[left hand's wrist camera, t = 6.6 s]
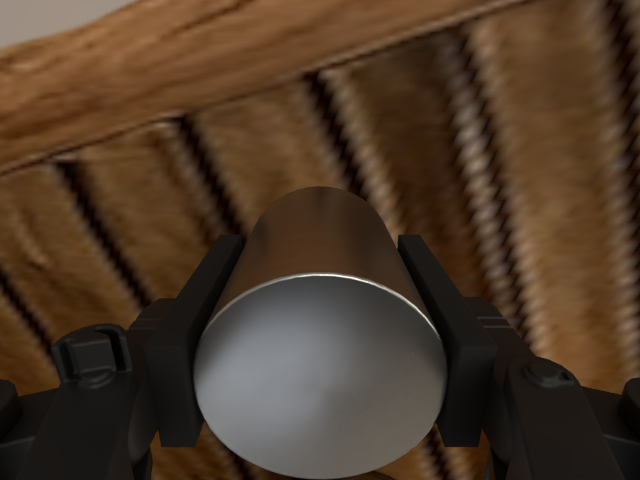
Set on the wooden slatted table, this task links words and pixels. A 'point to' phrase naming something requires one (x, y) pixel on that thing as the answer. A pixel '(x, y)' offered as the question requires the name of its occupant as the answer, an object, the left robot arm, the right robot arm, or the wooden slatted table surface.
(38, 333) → the wooden slatted table surface
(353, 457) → the canister
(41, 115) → the wooden slatted table surface
